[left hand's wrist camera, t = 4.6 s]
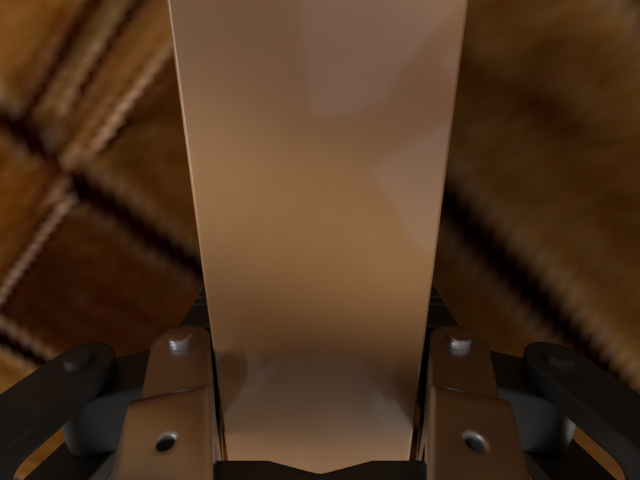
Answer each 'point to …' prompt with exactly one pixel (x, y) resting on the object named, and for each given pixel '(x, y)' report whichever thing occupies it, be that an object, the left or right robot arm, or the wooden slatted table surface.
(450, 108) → the beam
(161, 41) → the wooden slatted table surface
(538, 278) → the wooden slatted table surface
